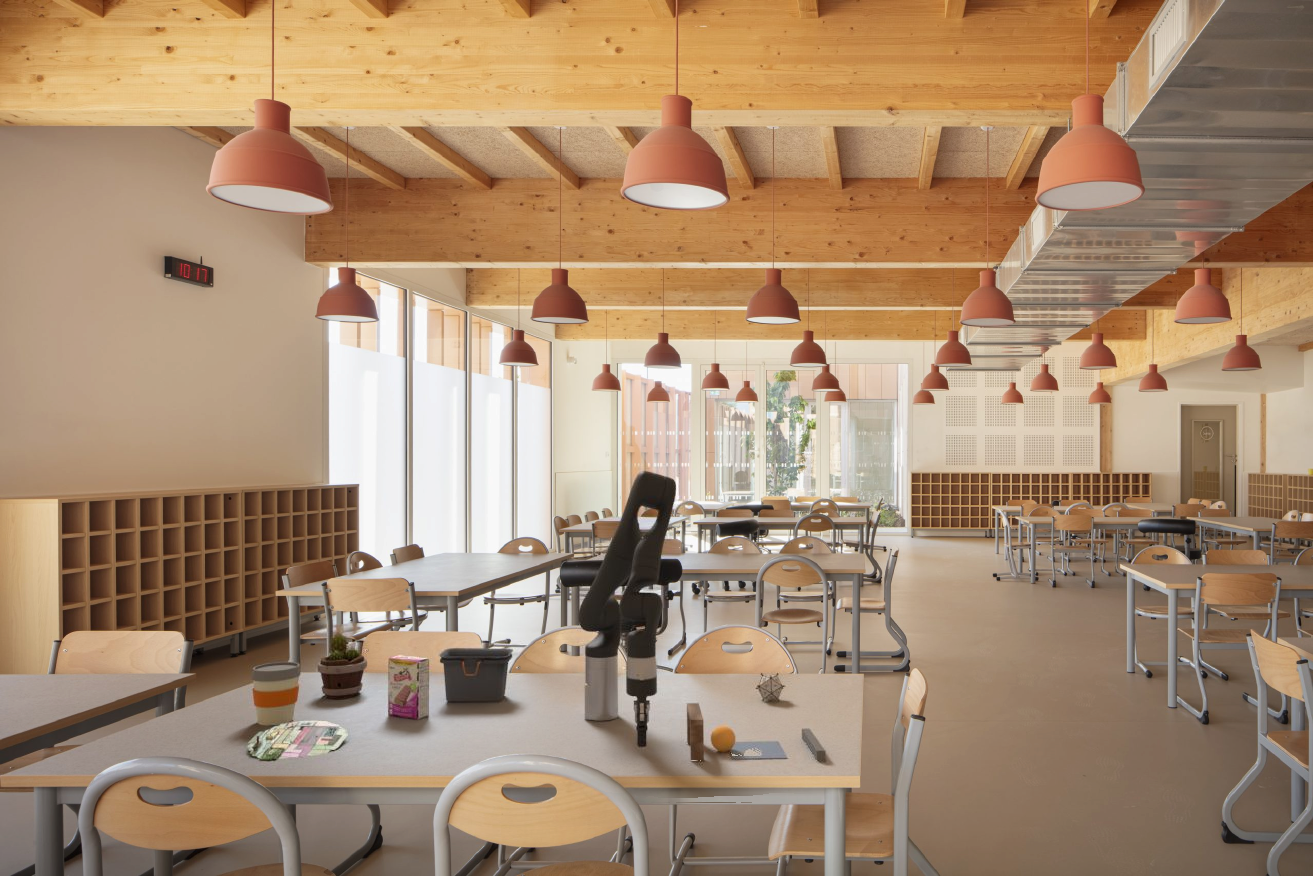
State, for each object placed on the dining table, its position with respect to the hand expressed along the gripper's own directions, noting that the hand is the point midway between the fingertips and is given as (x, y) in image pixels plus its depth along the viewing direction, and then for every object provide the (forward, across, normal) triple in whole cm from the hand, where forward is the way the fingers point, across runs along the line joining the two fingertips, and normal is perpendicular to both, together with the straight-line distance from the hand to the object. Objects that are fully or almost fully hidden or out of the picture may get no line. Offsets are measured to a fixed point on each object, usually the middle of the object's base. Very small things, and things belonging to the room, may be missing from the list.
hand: (641, 746), depth 209 cm
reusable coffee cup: (+2, -33, -102) cm, 107 cm away
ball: (-2, 0, +20) cm, 20 cm away
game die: (+2, -47, +39) cm, 61 cm away
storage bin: (+2, -53, -50) cm, 73 cm away
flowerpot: (+2, -61, -93) cm, 111 cm away
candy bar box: (+2, -36, -66) cm, 75 cm away
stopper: (+2, 0, +42) cm, 42 cm away
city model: (+2, -9, -87) cm, 87 cm away
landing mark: (+2, 0, +28) cm, 28 cm away
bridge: (+2, 0, +13) cm, 13 cm away
